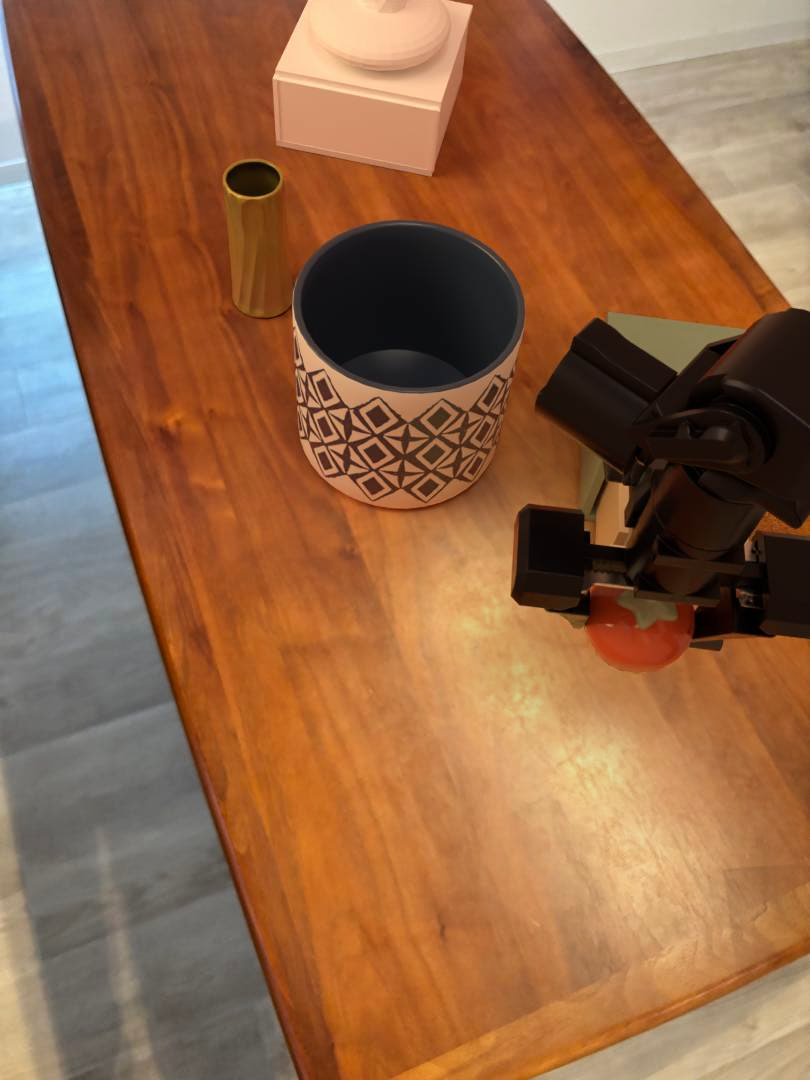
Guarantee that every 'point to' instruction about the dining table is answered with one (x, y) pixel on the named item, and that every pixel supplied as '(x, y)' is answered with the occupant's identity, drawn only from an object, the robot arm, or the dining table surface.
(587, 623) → the tomato
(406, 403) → the planter
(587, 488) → the cabinet
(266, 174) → the vase
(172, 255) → the dining table surface
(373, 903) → the dining table surface
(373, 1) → the pink lidded box
